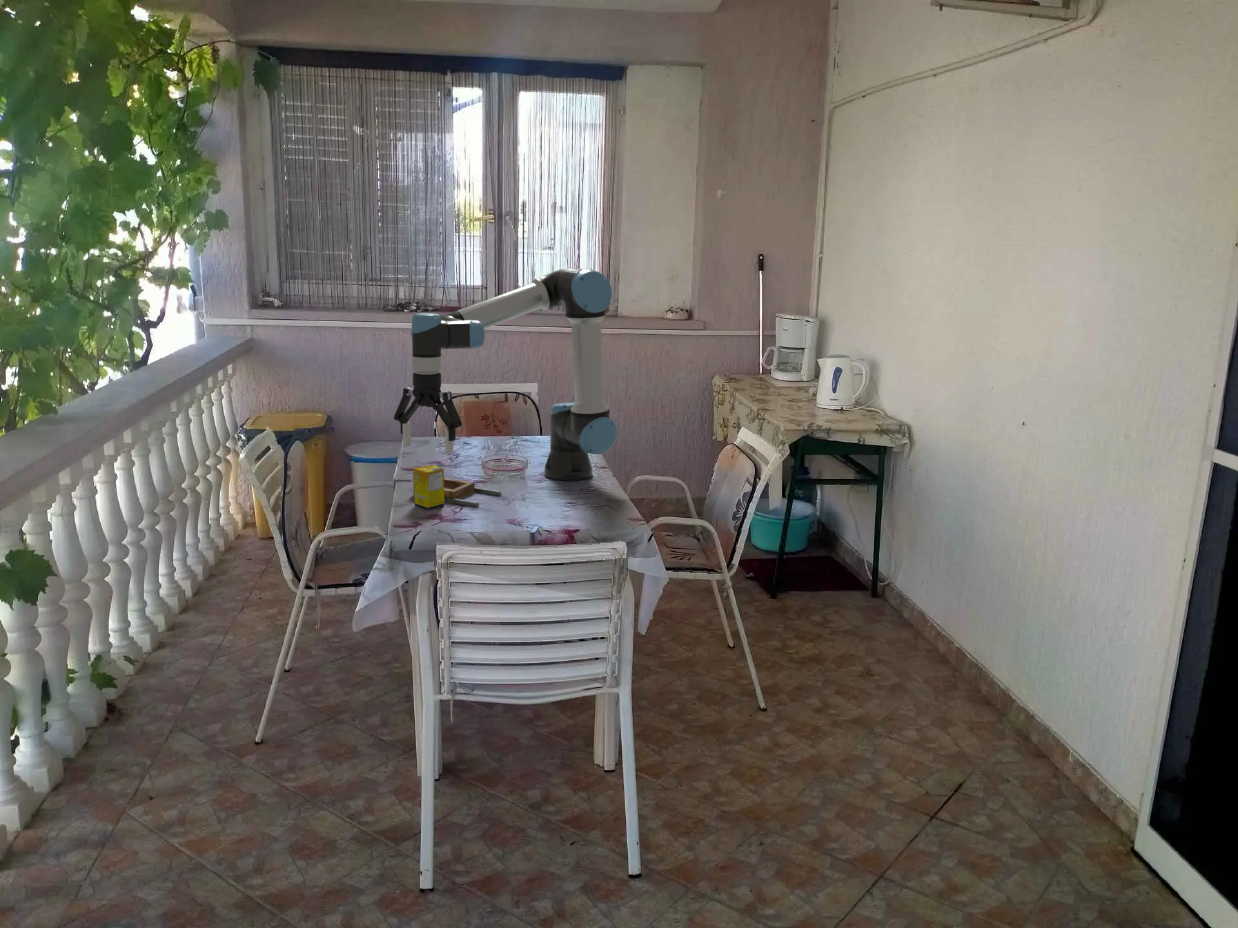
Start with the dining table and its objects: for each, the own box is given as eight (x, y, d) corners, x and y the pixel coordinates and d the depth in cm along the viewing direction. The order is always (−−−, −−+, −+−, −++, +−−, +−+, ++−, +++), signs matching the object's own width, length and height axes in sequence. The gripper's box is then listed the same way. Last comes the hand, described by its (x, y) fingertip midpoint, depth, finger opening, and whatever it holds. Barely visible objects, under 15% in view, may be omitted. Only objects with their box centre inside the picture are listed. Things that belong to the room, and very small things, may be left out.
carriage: (474, 492, 271) (474, 482, 271) (454, 501, 262) (453, 491, 261) (442, 487, 275) (442, 477, 275) (421, 496, 266) (420, 486, 265)
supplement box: (430, 501, 261) (430, 464, 258) (444, 506, 258) (444, 468, 255) (414, 506, 257) (413, 467, 254) (428, 510, 253) (427, 472, 250)
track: (501, 495, 270) (501, 471, 268) (476, 507, 257) (476, 483, 256) (436, 485, 278) (436, 462, 276) (409, 496, 265) (409, 472, 264)
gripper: (474, 374, 247) (474, 452, 252) (396, 366, 256) (398, 441, 261) (459, 378, 240) (459, 457, 245) (379, 369, 249) (381, 446, 254)
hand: (428, 449), depth 253 cm, fingers open, 13 cm apart
